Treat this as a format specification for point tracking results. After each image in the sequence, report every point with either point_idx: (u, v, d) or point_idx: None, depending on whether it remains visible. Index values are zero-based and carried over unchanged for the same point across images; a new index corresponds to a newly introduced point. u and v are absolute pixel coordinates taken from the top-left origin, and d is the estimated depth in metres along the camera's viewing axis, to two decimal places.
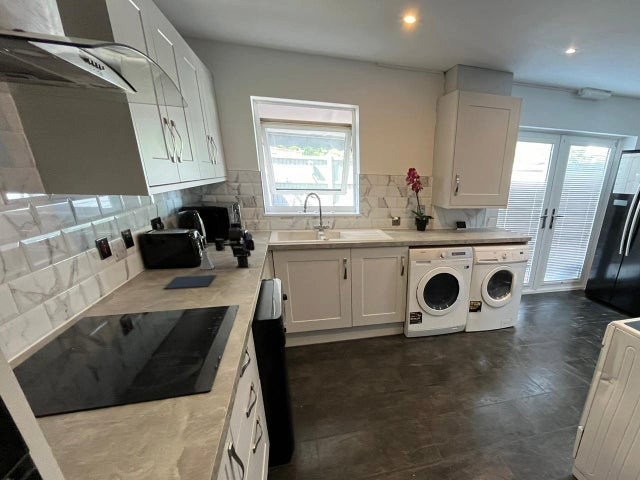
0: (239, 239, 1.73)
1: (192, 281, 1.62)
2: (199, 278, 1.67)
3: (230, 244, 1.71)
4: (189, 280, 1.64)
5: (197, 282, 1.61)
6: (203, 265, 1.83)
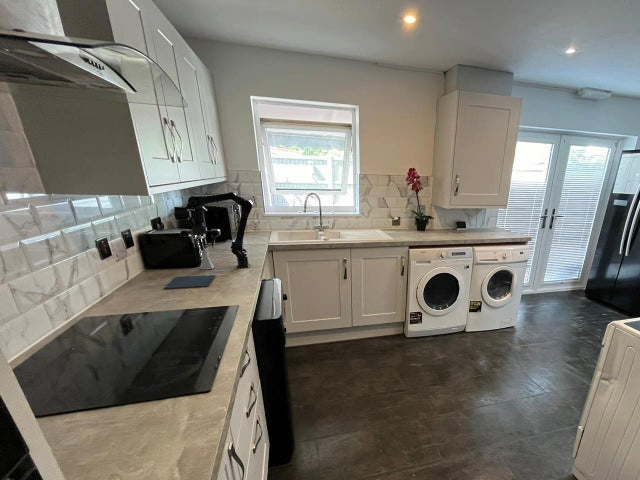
0: None
1: (192, 281, 1.62)
2: (199, 278, 1.67)
3: None
4: (189, 280, 1.64)
5: (197, 282, 1.61)
6: (203, 265, 1.83)
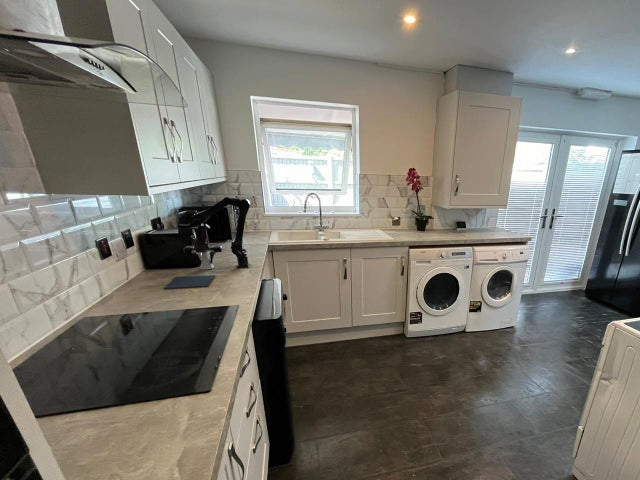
0: None
1: (192, 281, 1.62)
2: (199, 278, 1.67)
3: None
4: (189, 280, 1.64)
5: (197, 282, 1.61)
6: (203, 265, 1.83)
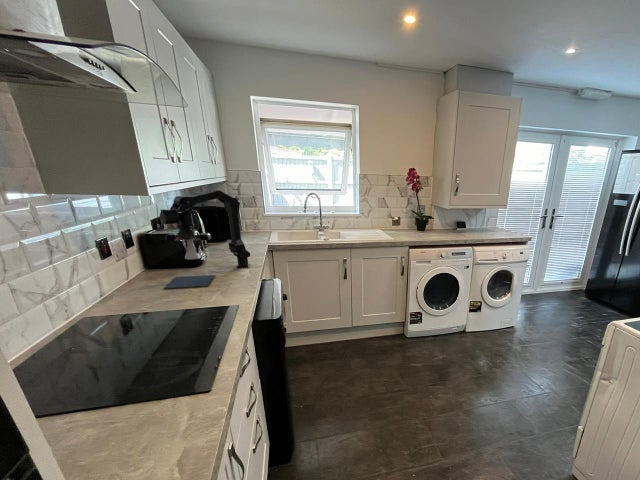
0: None
1: (192, 281, 1.62)
2: (199, 278, 1.67)
3: None
4: (189, 280, 1.64)
5: (197, 282, 1.61)
6: (188, 254, 1.64)
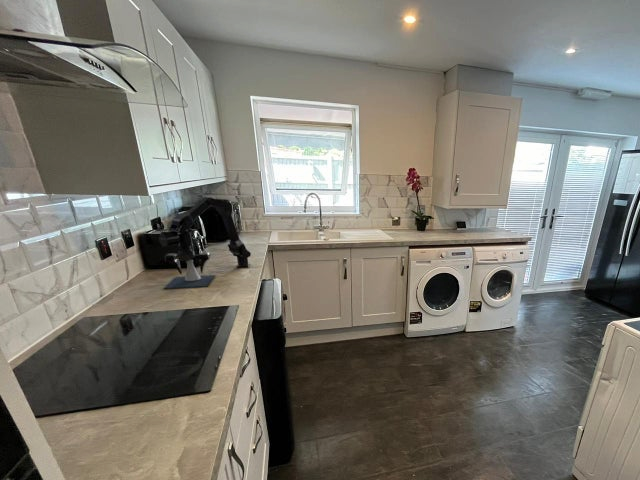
0: None
1: (192, 281, 1.62)
2: None
3: None
4: None
5: (197, 282, 1.61)
6: (188, 276, 1.62)
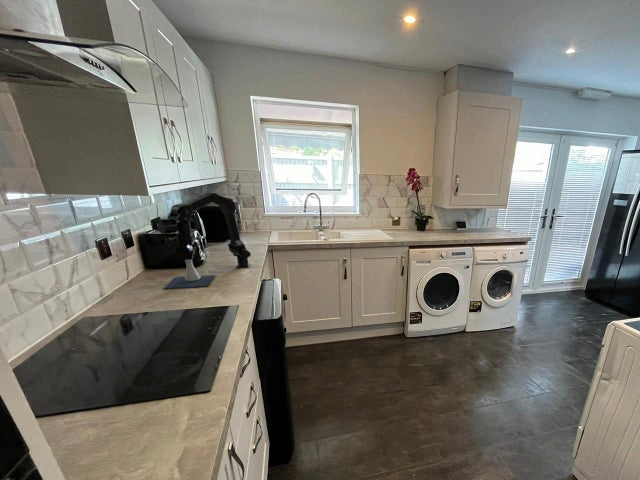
0: (179, 244, 1.58)
1: (192, 281, 1.62)
2: None
3: None
4: None
5: (197, 282, 1.61)
6: (188, 276, 1.62)
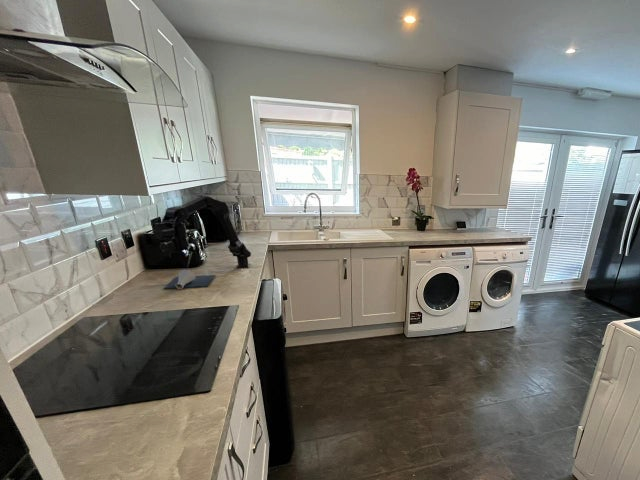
0: (174, 249, 1.51)
1: (192, 281, 1.62)
2: (199, 278, 1.67)
3: None
4: None
5: (197, 282, 1.61)
6: None
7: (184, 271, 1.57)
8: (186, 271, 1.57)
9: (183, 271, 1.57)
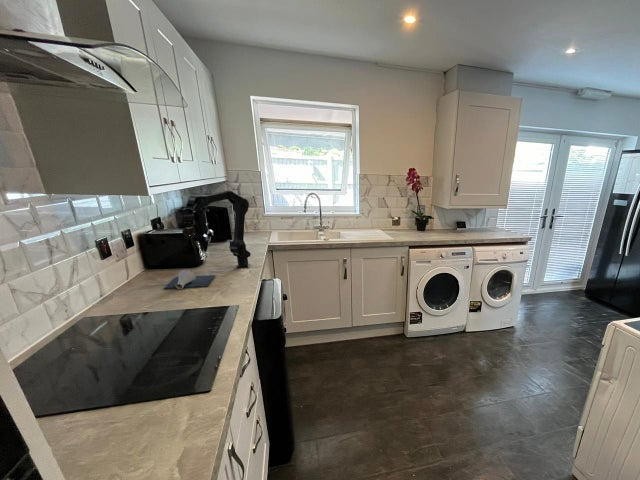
0: (195, 234, 1.64)
1: (192, 281, 1.62)
2: (199, 278, 1.67)
3: None
4: None
5: (197, 282, 1.61)
6: None
7: (184, 271, 1.57)
8: (186, 271, 1.57)
9: (183, 271, 1.57)
